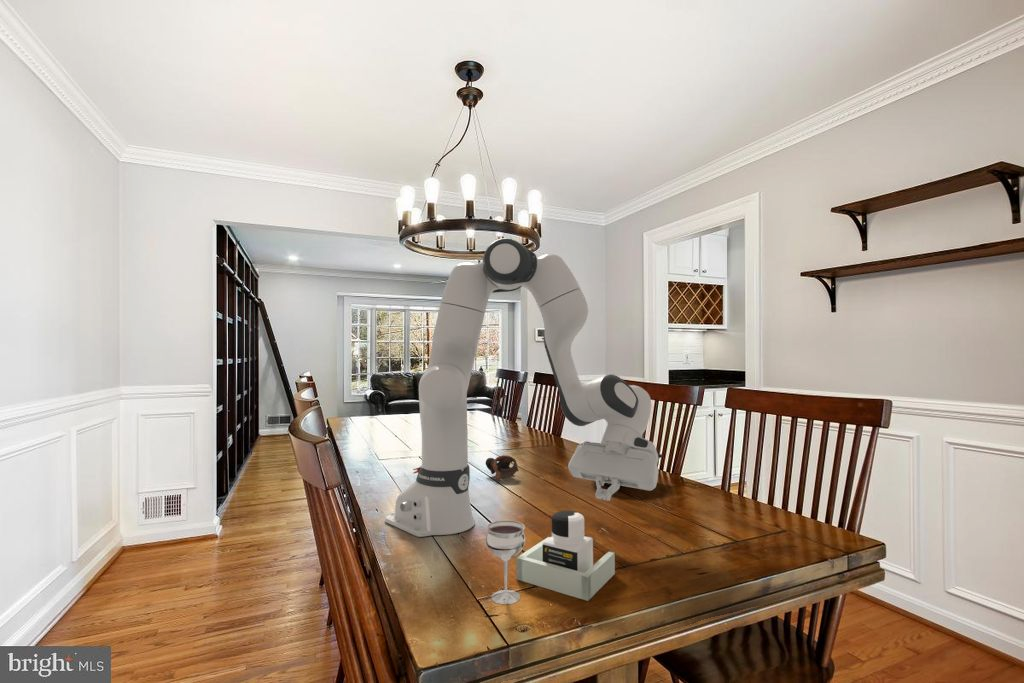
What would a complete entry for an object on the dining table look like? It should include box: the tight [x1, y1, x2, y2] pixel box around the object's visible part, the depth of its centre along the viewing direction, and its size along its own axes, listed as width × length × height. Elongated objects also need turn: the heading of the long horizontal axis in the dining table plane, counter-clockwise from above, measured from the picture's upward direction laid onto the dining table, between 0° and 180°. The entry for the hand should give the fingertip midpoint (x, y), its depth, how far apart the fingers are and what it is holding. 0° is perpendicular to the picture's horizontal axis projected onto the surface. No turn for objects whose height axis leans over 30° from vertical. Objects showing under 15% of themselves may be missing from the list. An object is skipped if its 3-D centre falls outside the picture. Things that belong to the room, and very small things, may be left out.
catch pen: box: [515, 536, 616, 602], centre depth 94 cm, size 14×12×4 cm
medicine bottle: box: [543, 510, 594, 573], centre depth 93 cm, size 7×7×12 cm
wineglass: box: [485, 519, 526, 605], centre depth 86 cm, size 7×7×12 cm
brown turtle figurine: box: [484, 454, 519, 482], centre depth 164 cm, size 12×9×8 cm
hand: (602, 498), depth 109 cm, fingers closed
